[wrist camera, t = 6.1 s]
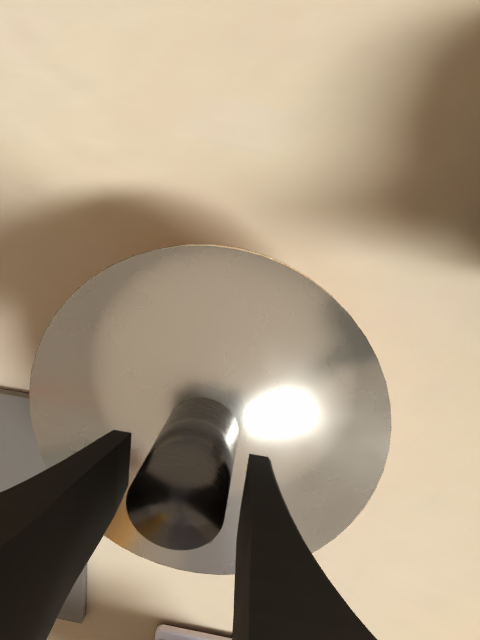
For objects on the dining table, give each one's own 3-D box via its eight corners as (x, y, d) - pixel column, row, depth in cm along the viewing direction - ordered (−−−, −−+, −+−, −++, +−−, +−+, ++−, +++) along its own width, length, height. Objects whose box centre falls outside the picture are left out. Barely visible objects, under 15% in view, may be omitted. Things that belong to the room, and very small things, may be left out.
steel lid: (332, 589, 16) (356, 734, 11) (36, 518, 17) (-56, 630, 12) (435, 287, 12) (531, 322, 8) (50, 209, 13) (-75, 200, 8)
